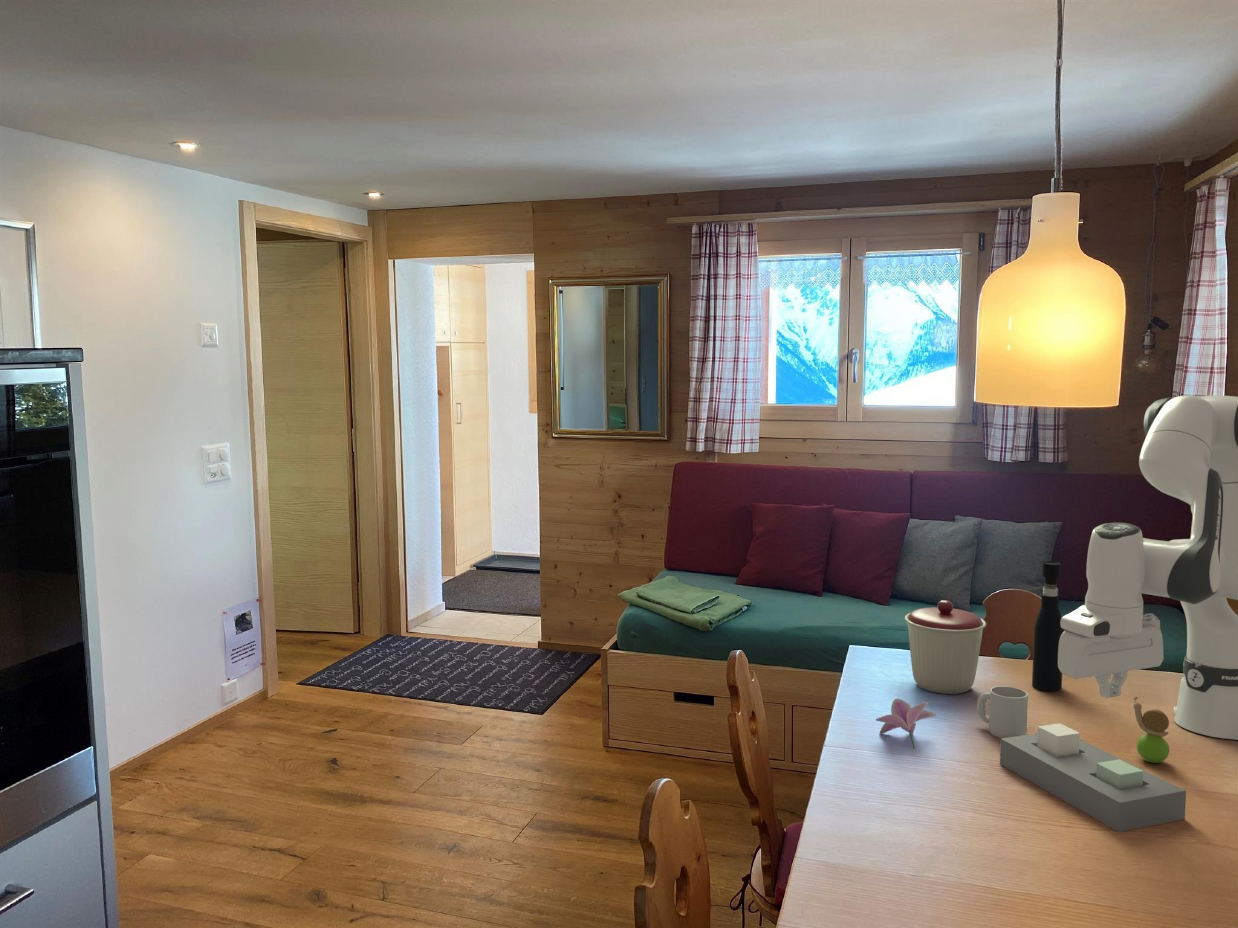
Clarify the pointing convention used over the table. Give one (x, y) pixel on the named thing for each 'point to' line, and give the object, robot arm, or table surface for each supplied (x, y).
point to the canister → (944, 647)
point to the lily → (904, 717)
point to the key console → (1094, 785)
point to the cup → (1005, 711)
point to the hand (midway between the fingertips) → (1110, 695)
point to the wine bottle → (1048, 634)
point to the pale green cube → (1119, 774)
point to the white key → (1058, 740)
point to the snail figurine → (1152, 734)
